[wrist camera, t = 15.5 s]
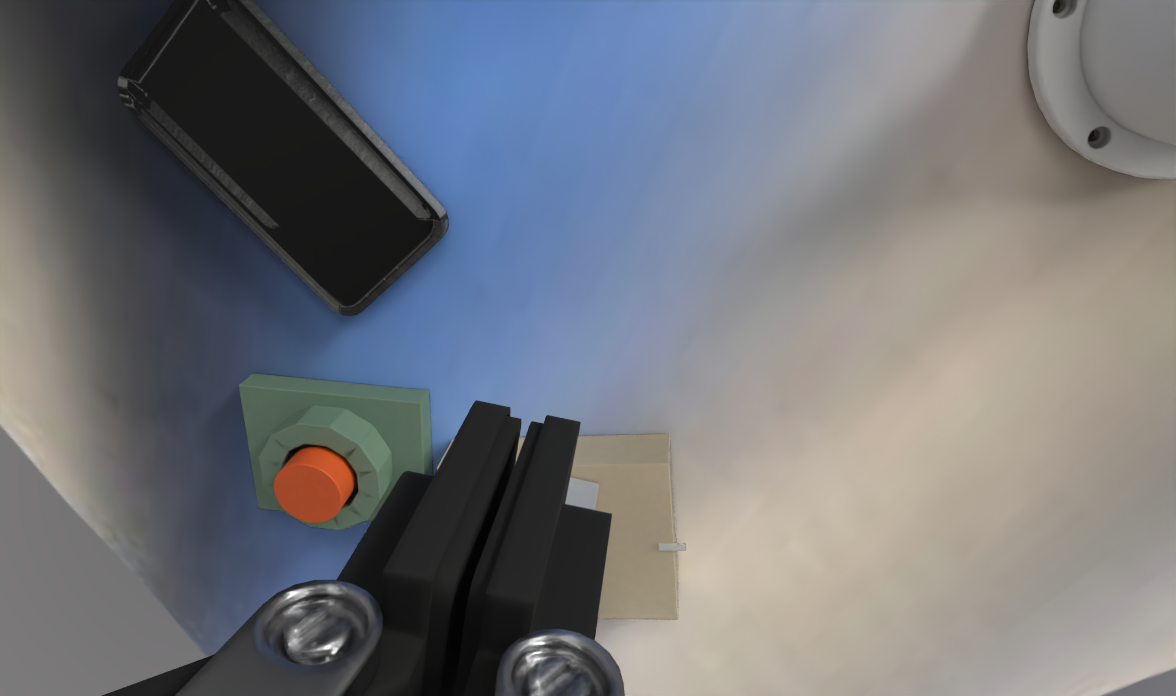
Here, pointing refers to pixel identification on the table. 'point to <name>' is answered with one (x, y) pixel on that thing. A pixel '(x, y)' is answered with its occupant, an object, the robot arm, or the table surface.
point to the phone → (281, 149)
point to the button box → (337, 436)
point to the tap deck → (633, 522)
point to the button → (314, 484)
